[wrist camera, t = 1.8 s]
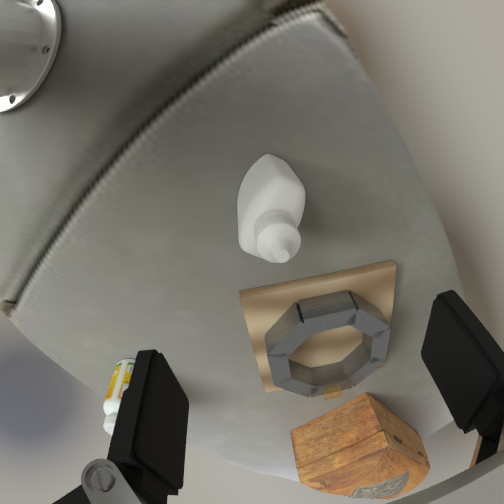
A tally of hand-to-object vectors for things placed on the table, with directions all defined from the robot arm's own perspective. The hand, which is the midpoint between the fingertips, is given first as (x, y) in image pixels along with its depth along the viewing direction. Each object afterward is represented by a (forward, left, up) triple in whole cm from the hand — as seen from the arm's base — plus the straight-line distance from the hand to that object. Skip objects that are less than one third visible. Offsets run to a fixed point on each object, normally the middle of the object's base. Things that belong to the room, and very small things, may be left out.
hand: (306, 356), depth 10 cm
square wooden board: (+18, +4, -18) cm, 26 cm away
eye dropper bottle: (0, 0, -18) cm, 19 cm away
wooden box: (+50, +11, -19) cm, 54 cm away
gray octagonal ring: (+18, +4, -17) cm, 25 cm away
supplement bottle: (+20, -20, -18) cm, 34 cm away
